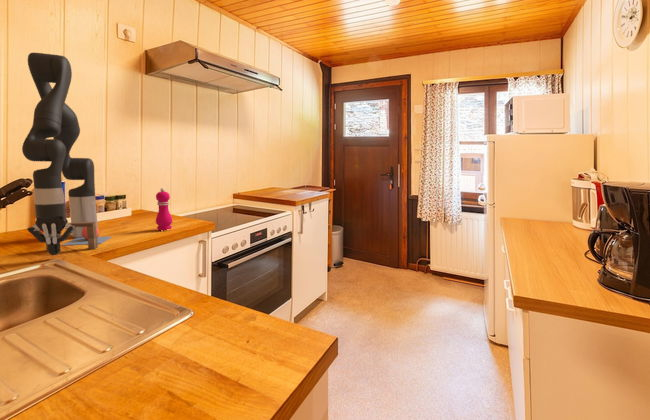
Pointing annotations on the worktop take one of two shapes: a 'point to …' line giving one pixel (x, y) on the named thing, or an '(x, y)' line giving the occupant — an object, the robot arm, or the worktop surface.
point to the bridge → (90, 233)
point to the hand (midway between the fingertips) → (54, 254)
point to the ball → (84, 233)
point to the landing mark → (85, 241)
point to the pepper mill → (163, 211)
